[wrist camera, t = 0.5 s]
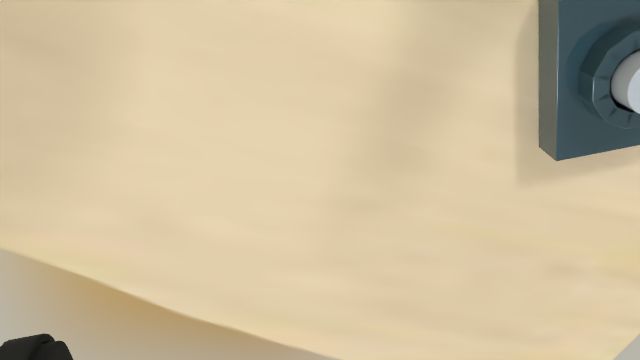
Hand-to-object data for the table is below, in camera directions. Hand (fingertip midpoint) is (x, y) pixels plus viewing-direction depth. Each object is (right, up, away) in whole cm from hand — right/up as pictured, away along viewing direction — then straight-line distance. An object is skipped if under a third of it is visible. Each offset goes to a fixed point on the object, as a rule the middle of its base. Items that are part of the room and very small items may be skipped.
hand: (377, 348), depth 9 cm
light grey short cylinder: (+21, +10, +30) cm, 38 cm away
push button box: (+21, +12, +34) cm, 42 cm away
